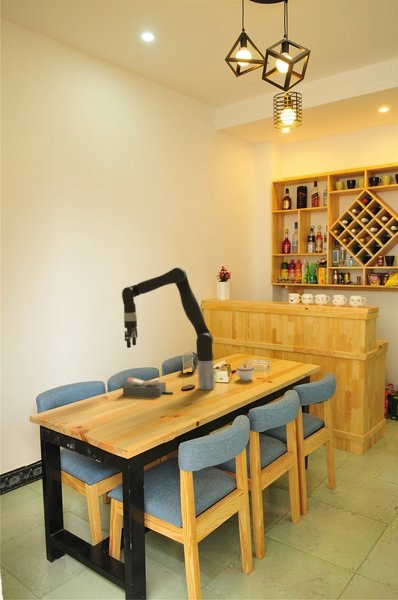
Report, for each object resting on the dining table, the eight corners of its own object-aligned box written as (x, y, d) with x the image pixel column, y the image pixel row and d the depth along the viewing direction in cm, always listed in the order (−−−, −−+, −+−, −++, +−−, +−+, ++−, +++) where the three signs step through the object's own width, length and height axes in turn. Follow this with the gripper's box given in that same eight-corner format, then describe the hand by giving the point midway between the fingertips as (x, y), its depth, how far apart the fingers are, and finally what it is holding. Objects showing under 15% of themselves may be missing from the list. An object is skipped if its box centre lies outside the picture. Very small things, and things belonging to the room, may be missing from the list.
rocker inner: (162, 381, 264) (161, 377, 264) (159, 383, 259) (158, 379, 259) (148, 384, 266) (147, 380, 266) (145, 387, 261) (143, 383, 261)
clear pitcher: (199, 365, 332) (199, 351, 331) (195, 375, 304) (195, 359, 304) (187, 365, 333) (186, 351, 332) (181, 375, 305) (181, 360, 305)
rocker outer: (143, 384, 267) (144, 380, 267) (140, 387, 262) (141, 383, 261) (129, 380, 269) (130, 376, 268) (126, 382, 263) (127, 379, 263)
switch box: (175, 391, 267) (175, 382, 266) (170, 397, 255) (169, 388, 254) (130, 390, 273) (130, 381, 272) (123, 395, 261) (122, 387, 261)
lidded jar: (256, 378, 289) (256, 363, 288) (249, 382, 280) (249, 367, 279) (241, 376, 295) (241, 362, 294) (234, 380, 286) (233, 365, 285)
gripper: (131, 321, 265) (133, 348, 266) (140, 318, 279) (141, 344, 280) (119, 321, 267) (121, 348, 268) (129, 318, 280) (130, 344, 282)
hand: (131, 346), depth 274 cm, fingers open, 8 cm apart
